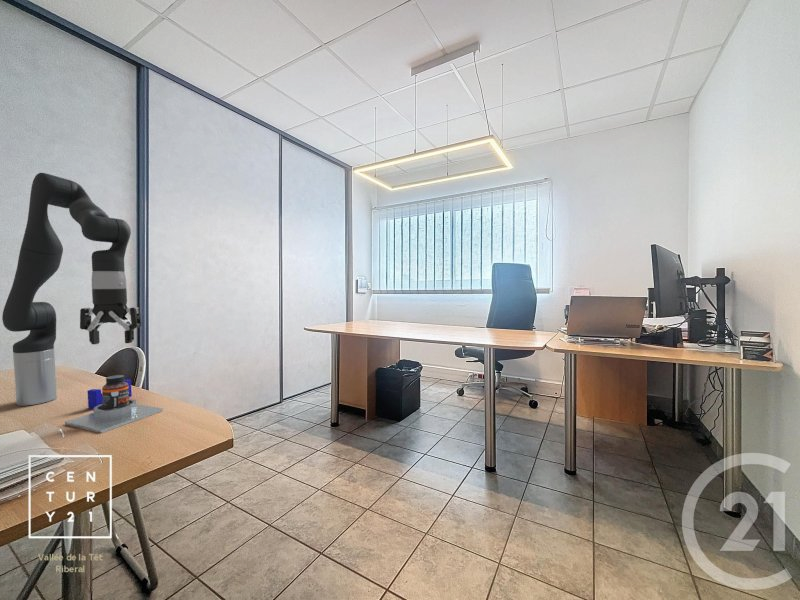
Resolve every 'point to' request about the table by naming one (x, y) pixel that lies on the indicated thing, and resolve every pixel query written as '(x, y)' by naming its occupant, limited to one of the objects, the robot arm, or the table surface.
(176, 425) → the table surface
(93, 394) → the blue notched bracket
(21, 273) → the robot arm
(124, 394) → the supplement bottle
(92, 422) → the duct panel
